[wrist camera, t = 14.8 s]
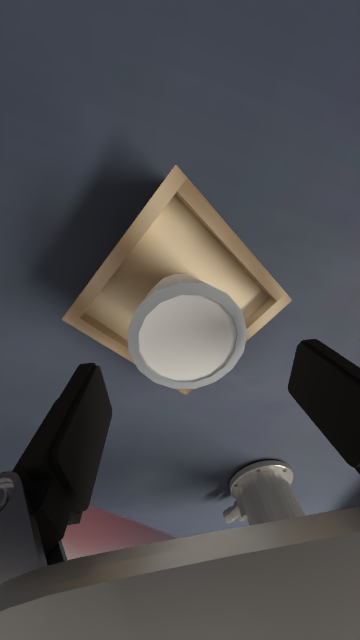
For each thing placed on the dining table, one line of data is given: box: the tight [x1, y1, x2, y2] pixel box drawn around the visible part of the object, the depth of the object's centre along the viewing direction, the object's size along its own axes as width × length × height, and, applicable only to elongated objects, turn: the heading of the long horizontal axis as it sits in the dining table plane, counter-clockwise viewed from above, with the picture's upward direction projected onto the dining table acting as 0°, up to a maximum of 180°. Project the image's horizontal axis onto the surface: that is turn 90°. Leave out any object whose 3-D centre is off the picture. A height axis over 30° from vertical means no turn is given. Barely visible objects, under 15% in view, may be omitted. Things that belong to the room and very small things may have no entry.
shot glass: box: [127, 274, 247, 389], centre depth 14 cm, size 7×7×7 cm
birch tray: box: [62, 165, 292, 395], centre depth 19 cm, size 14×14×5 cm
